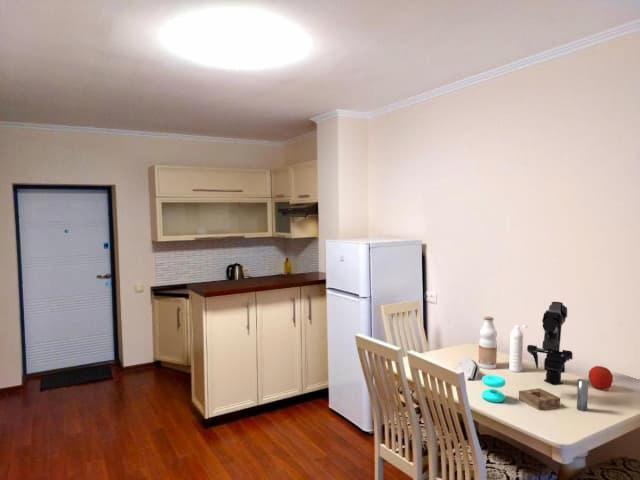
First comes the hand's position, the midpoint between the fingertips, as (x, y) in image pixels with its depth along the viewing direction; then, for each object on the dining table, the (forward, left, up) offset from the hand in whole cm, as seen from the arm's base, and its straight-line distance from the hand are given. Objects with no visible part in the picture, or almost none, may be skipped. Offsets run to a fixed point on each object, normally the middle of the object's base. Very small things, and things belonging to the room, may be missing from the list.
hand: (547, 370), depth 211 cm
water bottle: (-15, -37, -14) cm, 42 cm away
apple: (-36, -4, -14) cm, 39 cm away
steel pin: (-6, +13, -14) cm, 20 cm away
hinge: (+16, -39, -14) cm, 44 cm away
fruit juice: (-3, -47, -14) cm, 49 cm away
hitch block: (+7, +2, -14) cm, 15 cm away
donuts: (+24, -8, -14) cm, 29 cm away
